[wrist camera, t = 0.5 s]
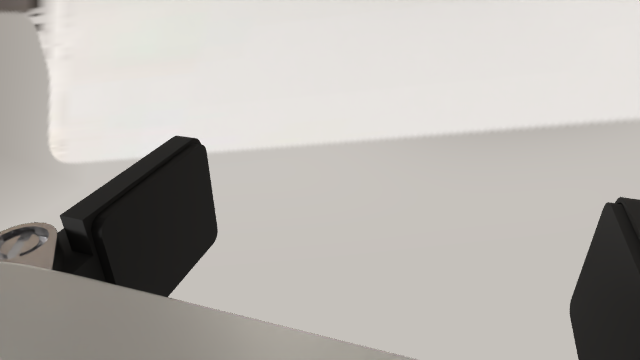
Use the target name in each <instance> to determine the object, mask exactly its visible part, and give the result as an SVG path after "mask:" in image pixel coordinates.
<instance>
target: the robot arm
mask: <svg viewBox="0 0 640 360" xmlns="http://www.w3.org/2000/svg"><path fill="white" fill-rule="evenodd" d="M60 218H61V220H62V223H63V226H64V229H62V230H61V231H60V232H58V233H57V230H56V228H55V227H54V226H52V225H50V224H47V223H38V222H34V223H27V224H21V225H17V226H14V227H11V228H8V229H6V230H3V231H1V232H0V360H417V359H413V358H409V357H405V356H401V355H397V354H393V353H389V352H385V351H381V350H377V349H373V348H369V347H365V346H361V345H357V344H353V343H349V342H345V341H341V340H337V339H333V338H329V337H325V336H321V335H317V334H313V333H309V332H305V331H301V330H297V329H293V328H289V327H285V326H281V325H277V324H273V323H269V322H265V321H261V320H257V319H253V318H249V317H244V316H240V315H237V314H233V313H228V312H225V311H220V310H217V309H213V308H208V307H204V306H200V305H196V304H192V303H188V302H184V301H180V300H176V299H172V298H168V296H169V295H170V293H171V292H172V291H173V290H174V289H175V288H176V287H177V285H178V284H179V283H180V282H181V281H182V280H183V278H184V277H185V276H186V275H187V274H188V272H189V271H190V270H191V269H192V268H193V267H194V265H195V264H196V263H197V262H198V261H199V260H200V258H201V257H202V256H203V255H204V254H205V253H206V251H207V250H208V249H209V248H210V247H211V246H212V244H213V243H214V242H215V240H216V237H217V222H216V215H215V208H214V201H213V194H212V187H211V180H210V173H209V166H208V159H207V152H206V148H205V146H204V145H201V143H200V141H199V140H198V139H196V138H189V137H182V136H175V137H173V138H171V139H170V140H168V141H167V142H165V143H164V144H163V145H161V146H160V147H158V148H157V149H155V150H154V151H152V152H151V153H150V154H148V155H147V156H145V157H144V158H142V159H141V160H139V161H138V162H136V163H135V164H134V165H132V166H131V167H129V168H128V169H126V170H125V171H124V172H122V173H121V174H119V175H118V176H116V177H115V178H113V179H112V180H111V181H109V182H108V183H106V184H105V185H103V186H102V187H100V188H99V189H98V190H96V191H95V192H93V193H92V194H90V195H89V196H87V197H86V198H84V199H83V200H82V201H80V202H79V203H77V204H76V205H74V206H73V207H71V208H70V209H69V210H67V211H66V212H64V213H63V214H61V215H60ZM570 318H571V323H572V328H573V333H574V338H575V344H576V349H577V354H578V359H579V360H640V200H637V199H629V198H623V197H620V198H618V199H617V201H616V202H615V203H609V202H608V203H606V204H605V206H604V208H603V211H602V214H601V216H600V219H599V222H598V225H597V228H596V231H595V234H594V236H593V239H592V242H591V245H590V248H589V251H588V253H587V256H586V259H585V262H584V265H583V267H582V270H581V273H580V276H579V279H578V282H577V285H576V287H575V290H574V293H573V296H572V299H571V303H570Z"/></svg>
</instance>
